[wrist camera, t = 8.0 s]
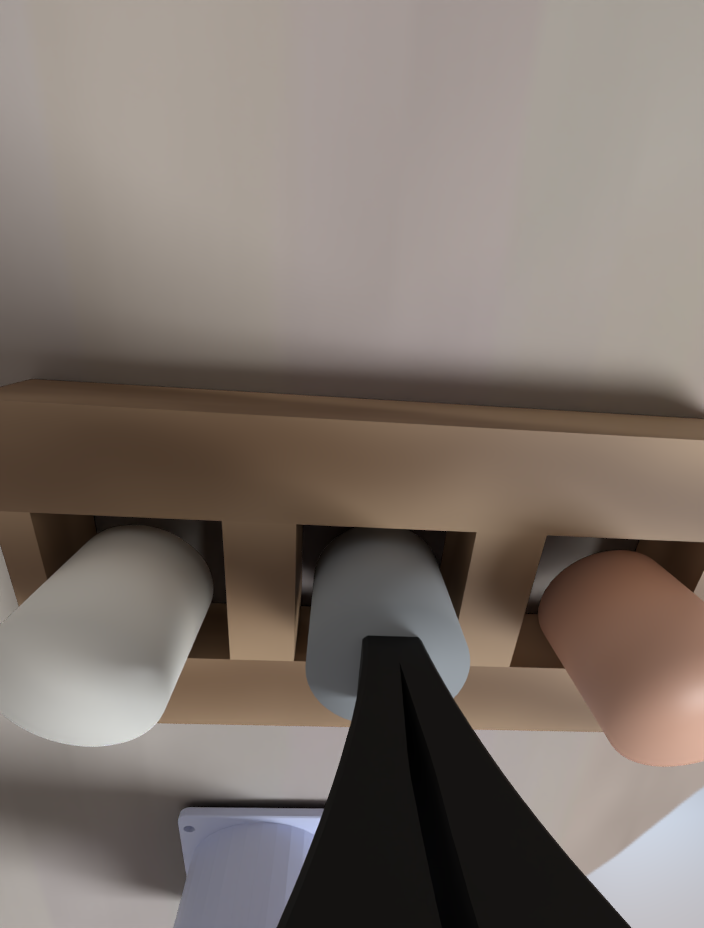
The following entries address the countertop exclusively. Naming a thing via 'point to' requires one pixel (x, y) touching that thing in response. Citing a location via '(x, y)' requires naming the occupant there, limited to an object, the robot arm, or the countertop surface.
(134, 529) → the white rounded cylinder
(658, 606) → the peach rounded cylinder
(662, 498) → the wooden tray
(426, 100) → the countertop surface
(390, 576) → the grey rounded piece
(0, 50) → the countertop surface
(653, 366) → the countertop surface
